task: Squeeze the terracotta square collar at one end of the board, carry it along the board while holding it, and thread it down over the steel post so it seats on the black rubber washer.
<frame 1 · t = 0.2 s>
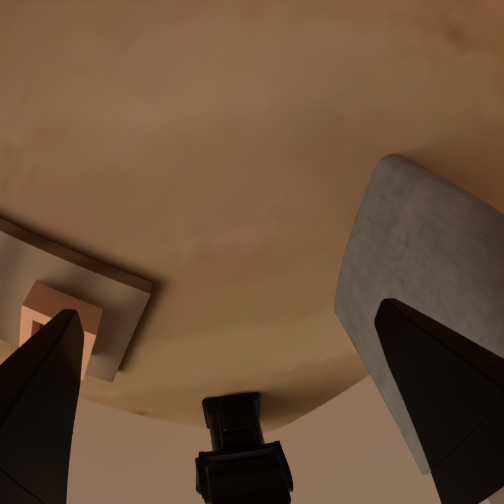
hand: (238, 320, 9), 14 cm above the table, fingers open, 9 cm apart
hip flask: (365, 243, 26), on the table
post board: (8, 284, 22), on the table
collar: (62, 321, 23), point 1 cm above the table, touching post board
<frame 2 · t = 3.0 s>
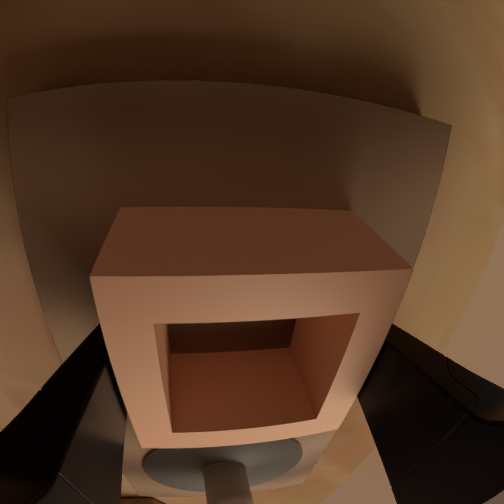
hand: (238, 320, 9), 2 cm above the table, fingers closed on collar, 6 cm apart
post board: (222, 387, 14), on the table
collar: (234, 304, 9), point 1 cm above the table, touching gripper, post board
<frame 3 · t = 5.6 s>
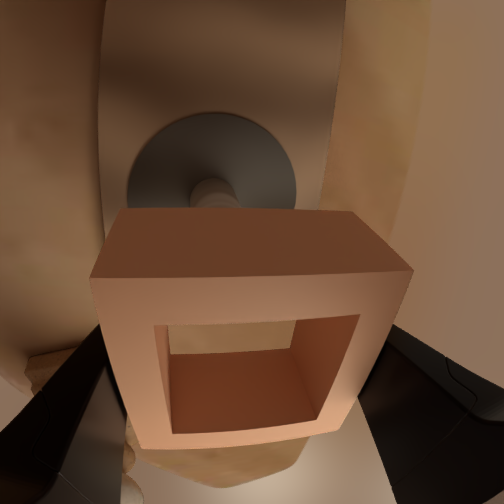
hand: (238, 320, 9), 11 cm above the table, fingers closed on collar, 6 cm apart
post board: (218, 84, 15), on the table
collar: (235, 305, 9), point 10 cm above the table, touching gripper
candle holder: (105, 386, 25), on the table
when the fingers open (3 cm above the table, at t = 8.3 s): collar stays where it is, resting on post board.
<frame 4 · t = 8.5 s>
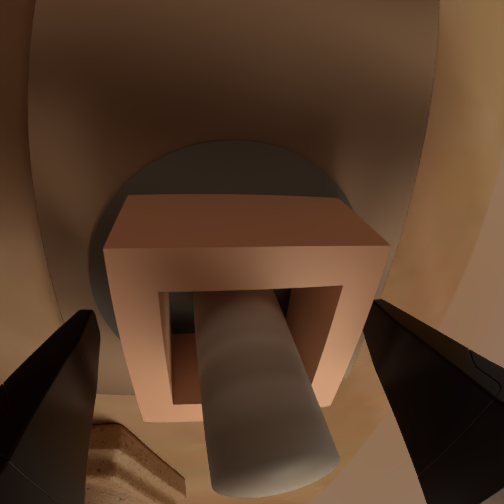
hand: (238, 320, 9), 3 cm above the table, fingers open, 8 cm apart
post board: (237, 84, 9), on the table
collar: (231, 285, 10), point 2 cm above the table, touching post board
candle holder: (96, 459, 19), on the table
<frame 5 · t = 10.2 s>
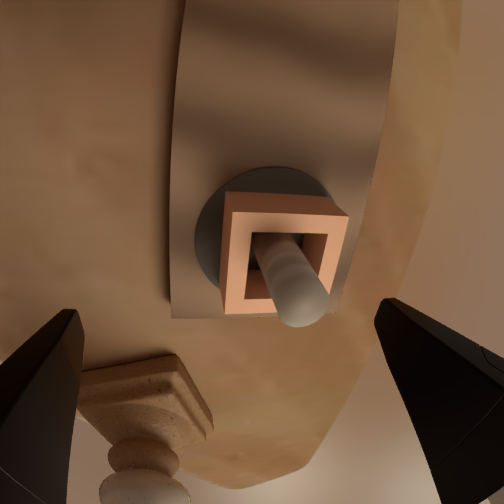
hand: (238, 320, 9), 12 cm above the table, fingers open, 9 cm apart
post board: (277, 136, 18), on the table
collar: (271, 241, 19), point 2 cm above the table, touching post board
candle holder: (144, 398, 27), on the table
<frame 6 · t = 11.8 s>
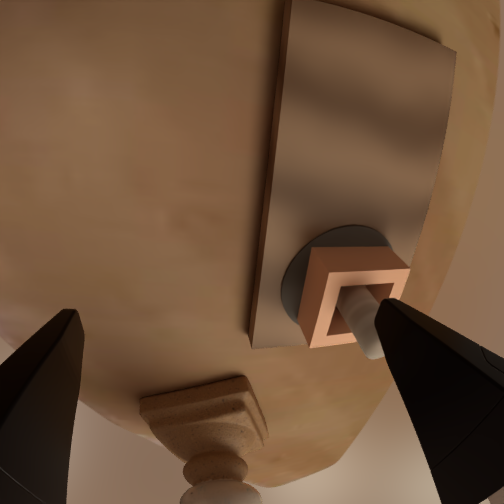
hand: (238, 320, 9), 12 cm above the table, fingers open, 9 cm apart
post board: (350, 195, 21), on the table
collar: (342, 283, 22), point 2 cm above the table, touching post board
candle holder: (207, 413, 31), on the table
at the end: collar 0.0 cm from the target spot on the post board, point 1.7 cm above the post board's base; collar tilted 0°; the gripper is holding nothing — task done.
